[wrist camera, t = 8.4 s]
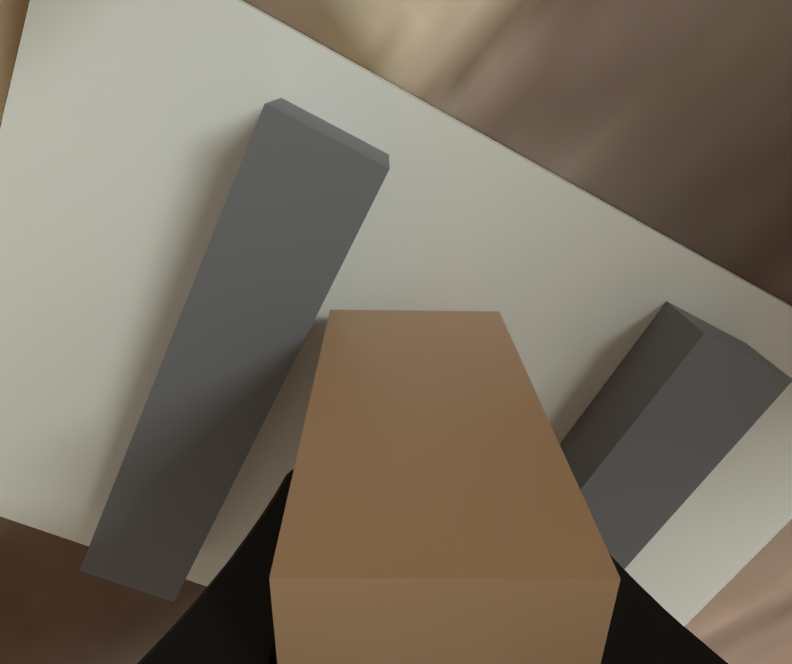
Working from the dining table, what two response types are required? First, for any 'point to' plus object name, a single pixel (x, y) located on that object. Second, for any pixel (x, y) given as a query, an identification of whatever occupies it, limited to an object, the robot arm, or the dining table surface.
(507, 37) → the dining table surface
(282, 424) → the board
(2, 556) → the dining table surface
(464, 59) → the dining table surface
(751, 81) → the dining table surface
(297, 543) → the tan wooden block
